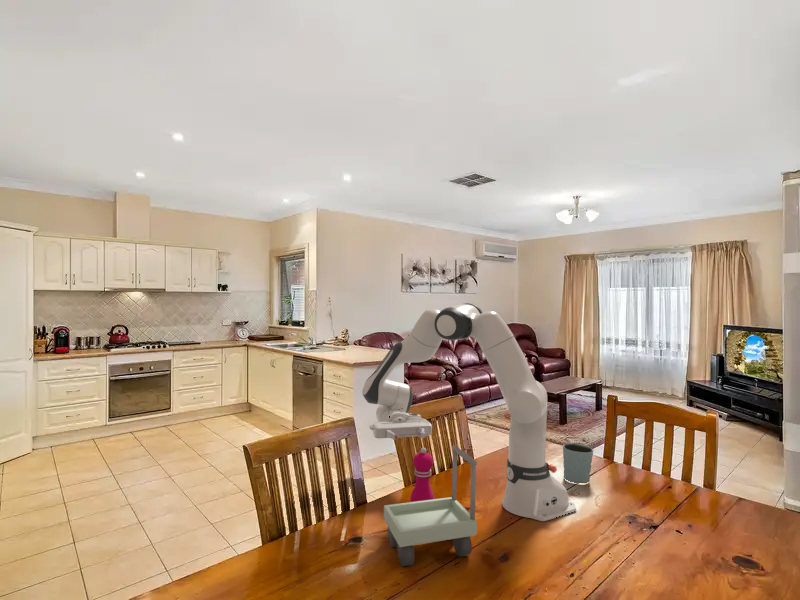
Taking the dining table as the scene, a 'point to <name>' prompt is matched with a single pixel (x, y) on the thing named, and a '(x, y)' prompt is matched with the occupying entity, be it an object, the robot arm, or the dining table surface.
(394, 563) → the dining table surface
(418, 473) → the pepper mill
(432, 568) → the dining table surface
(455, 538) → the serving trolley
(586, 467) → the grey cup
